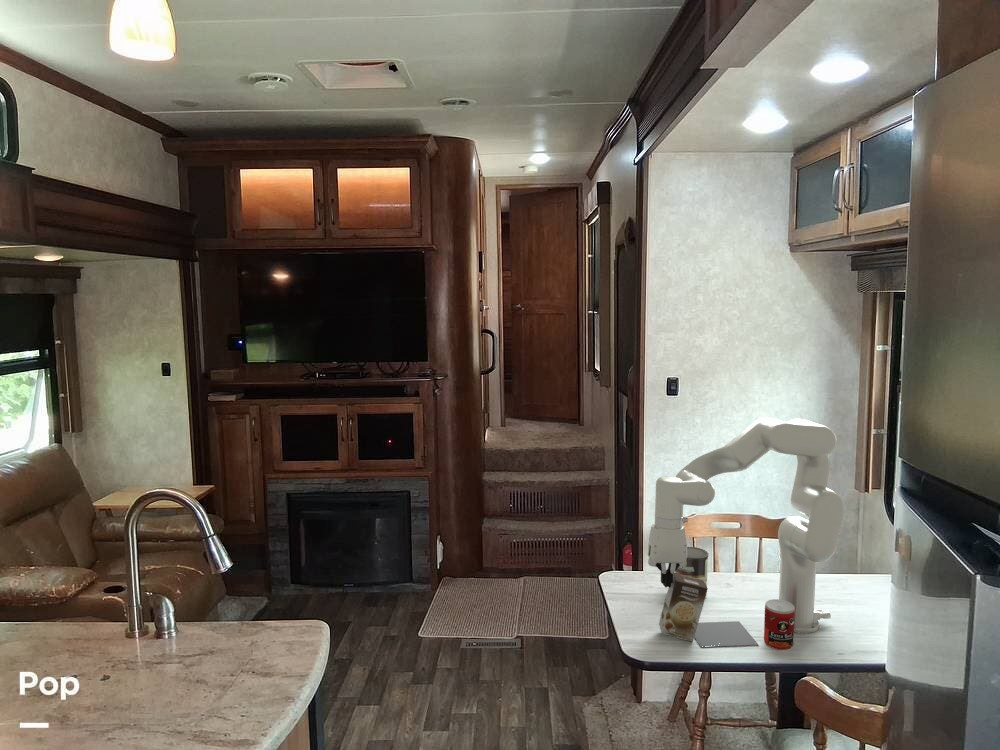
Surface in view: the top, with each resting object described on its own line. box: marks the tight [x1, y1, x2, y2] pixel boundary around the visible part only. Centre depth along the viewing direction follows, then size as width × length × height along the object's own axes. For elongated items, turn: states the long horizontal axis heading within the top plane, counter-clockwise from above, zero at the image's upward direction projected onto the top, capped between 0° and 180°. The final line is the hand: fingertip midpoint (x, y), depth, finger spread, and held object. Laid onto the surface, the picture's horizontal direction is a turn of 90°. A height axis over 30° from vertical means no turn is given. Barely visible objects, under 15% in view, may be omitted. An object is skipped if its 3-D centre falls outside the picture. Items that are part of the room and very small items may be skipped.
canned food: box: [763, 598, 795, 651], centre depth 198 cm, size 8×8×11 cm
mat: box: [694, 620, 759, 648], centre depth 203 cm, size 16×14×1 cm
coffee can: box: [675, 546, 710, 600], centre depth 229 cm, size 10×10×14 cm
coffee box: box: [658, 573, 709, 642], centre depth 202 cm, size 9×6×16 cm
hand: (666, 585), depth 201 cm, fingers closed
